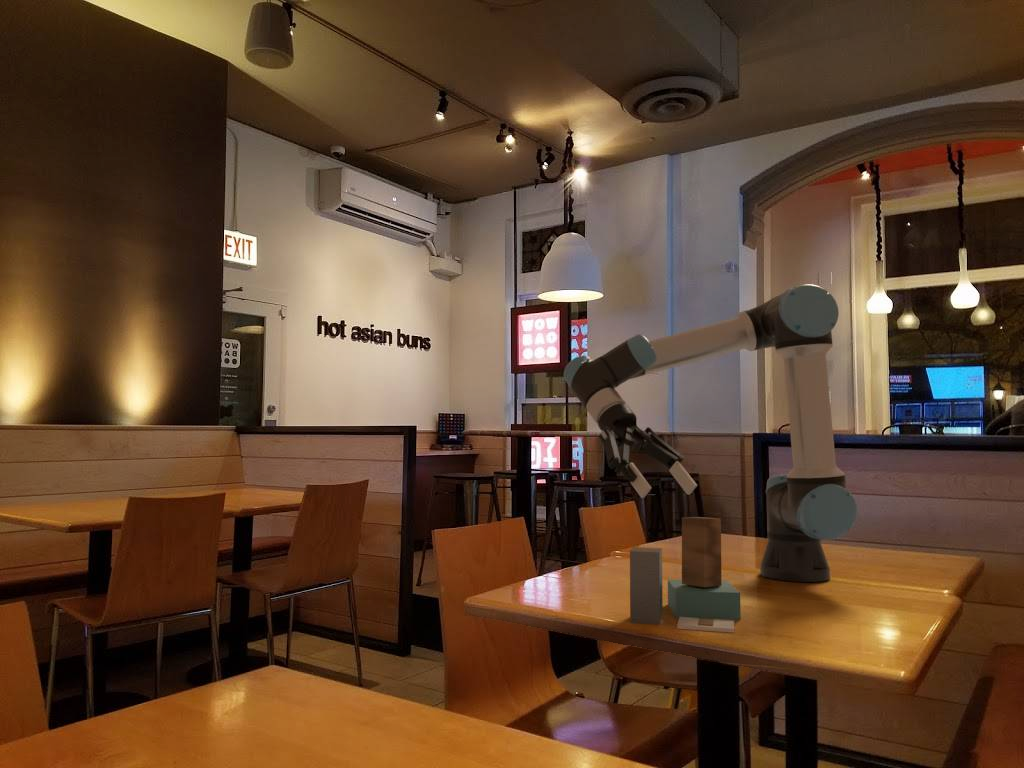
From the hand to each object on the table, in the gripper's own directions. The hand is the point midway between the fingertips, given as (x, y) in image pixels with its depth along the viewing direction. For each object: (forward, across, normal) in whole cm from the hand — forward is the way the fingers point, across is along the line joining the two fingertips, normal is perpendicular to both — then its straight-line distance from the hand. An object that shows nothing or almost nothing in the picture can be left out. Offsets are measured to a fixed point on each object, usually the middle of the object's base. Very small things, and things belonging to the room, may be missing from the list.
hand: (670, 491), depth 144 cm
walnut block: (+17, 0, -7) cm, 18 cm away
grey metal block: (+19, +13, -11) cm, 25 cm away
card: (+25, +8, -5) cm, 27 cm away
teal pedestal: (+20, 0, -10) cm, 23 cm away
